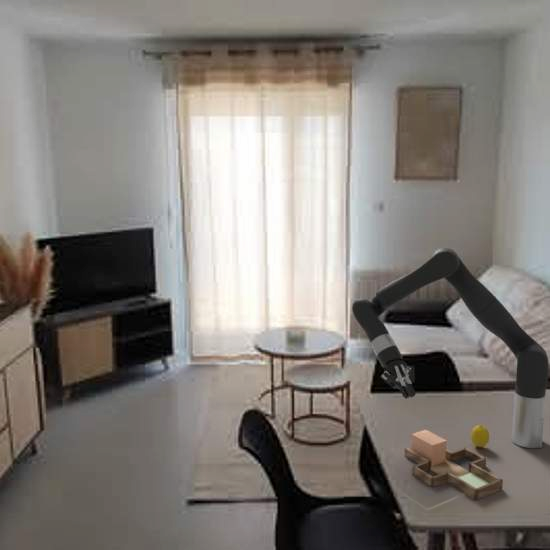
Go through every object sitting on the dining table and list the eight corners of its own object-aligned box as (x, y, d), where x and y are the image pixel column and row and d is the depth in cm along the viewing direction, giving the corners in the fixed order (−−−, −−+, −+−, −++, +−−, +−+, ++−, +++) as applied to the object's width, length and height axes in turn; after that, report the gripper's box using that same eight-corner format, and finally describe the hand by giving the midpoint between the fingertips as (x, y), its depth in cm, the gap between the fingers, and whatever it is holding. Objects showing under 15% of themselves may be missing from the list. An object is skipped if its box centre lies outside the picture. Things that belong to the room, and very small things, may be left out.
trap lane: (390, 461, 187) (390, 452, 186) (441, 443, 198) (442, 435, 197) (461, 506, 162) (462, 496, 161) (515, 483, 173) (516, 474, 172)
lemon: (479, 453, 191) (481, 430, 189) (467, 446, 196) (468, 423, 194) (492, 449, 193) (493, 426, 192) (479, 442, 198) (480, 420, 197)
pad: (449, 482, 174) (449, 481, 174) (471, 473, 179) (471, 472, 179) (475, 497, 166) (475, 496, 166) (497, 488, 171) (497, 487, 170)
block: (411, 454, 190) (411, 434, 189) (424, 449, 193) (425, 429, 192) (431, 466, 183) (432, 445, 181) (445, 461, 185) (446, 440, 184)
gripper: (375, 348, 194) (400, 396, 185) (407, 341, 200) (432, 387, 192) (365, 359, 199) (388, 406, 191) (396, 352, 206) (420, 397, 198)
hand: (410, 396), depth 192 cm, fingers closed
